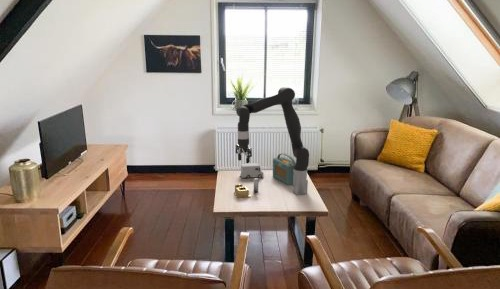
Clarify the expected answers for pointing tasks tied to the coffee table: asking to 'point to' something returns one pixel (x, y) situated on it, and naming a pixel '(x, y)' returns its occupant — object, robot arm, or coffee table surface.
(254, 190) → the silver round-ended rod
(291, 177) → the radio
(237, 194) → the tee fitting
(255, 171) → the toy vehicle
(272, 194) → the coffee table surface
